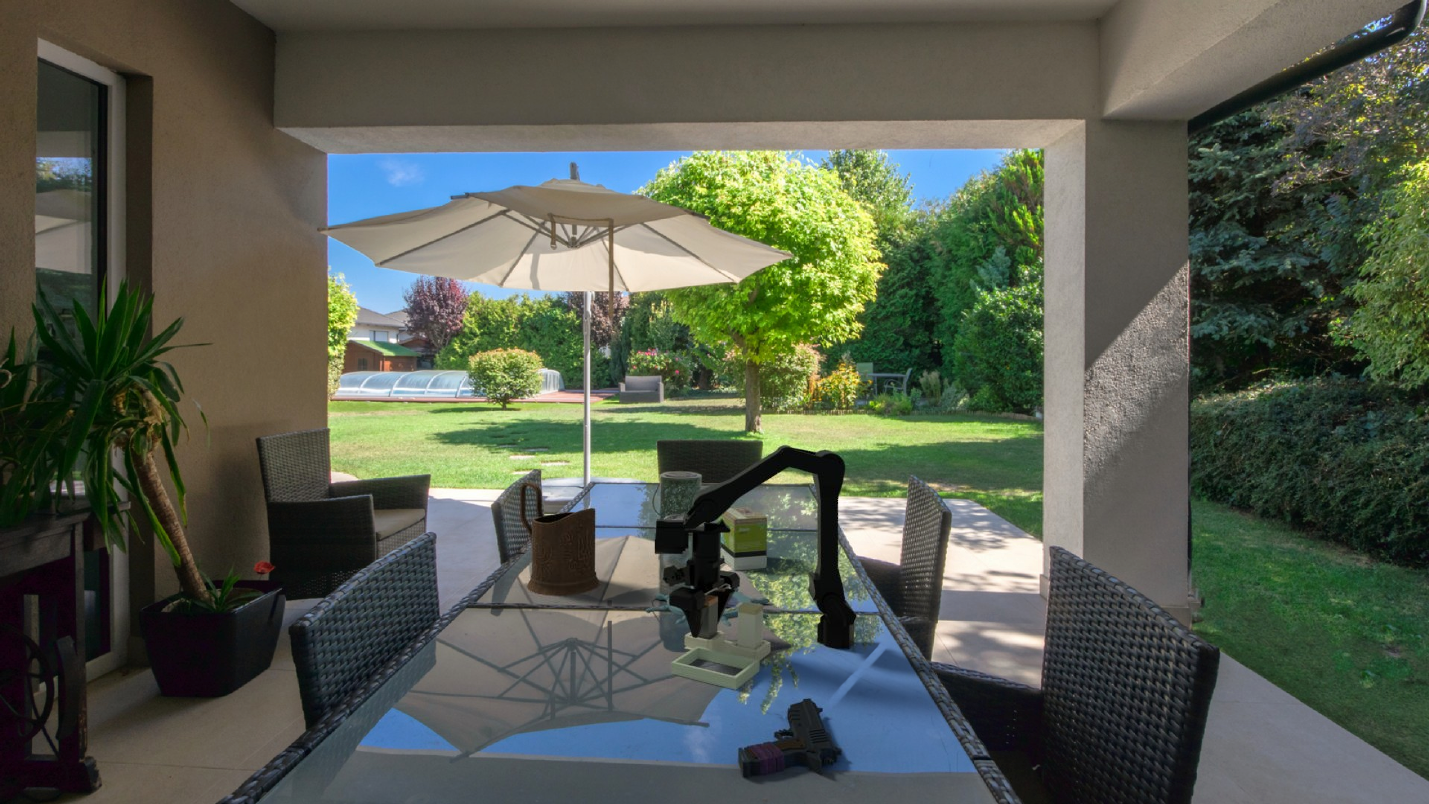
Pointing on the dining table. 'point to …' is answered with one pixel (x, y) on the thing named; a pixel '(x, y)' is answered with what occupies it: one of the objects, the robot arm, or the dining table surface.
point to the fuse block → (727, 646)
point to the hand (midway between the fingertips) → (705, 631)
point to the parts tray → (712, 677)
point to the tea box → (744, 539)
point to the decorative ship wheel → (734, 603)
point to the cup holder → (560, 549)
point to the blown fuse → (710, 618)
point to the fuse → (750, 625)
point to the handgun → (792, 745)
